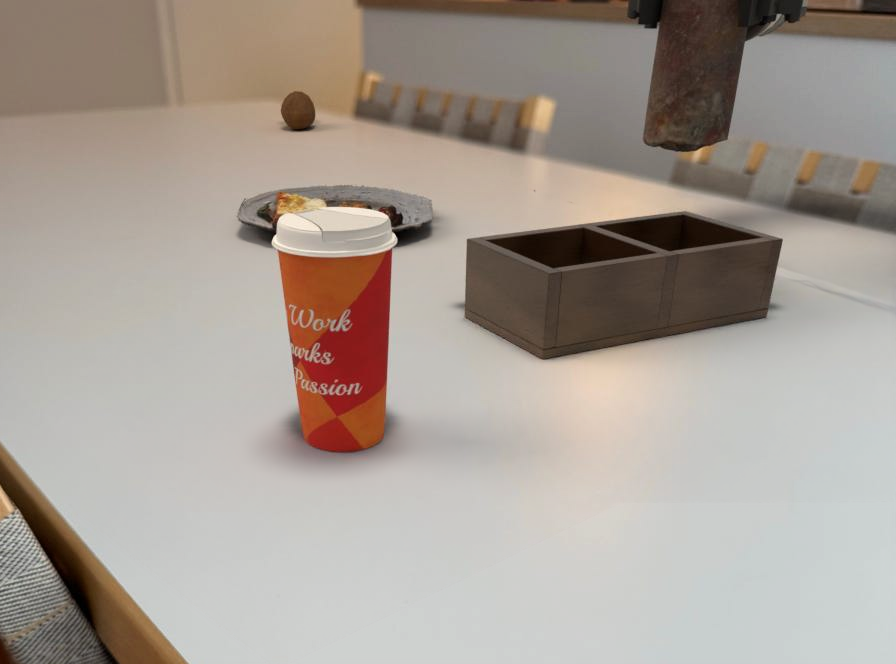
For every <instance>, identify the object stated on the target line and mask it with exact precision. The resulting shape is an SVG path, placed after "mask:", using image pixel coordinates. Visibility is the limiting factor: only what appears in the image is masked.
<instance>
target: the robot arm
mask: <svg viewBox="0 0 896 664" xmlns="http://www.w3.org/2000/svg"><path fill="white" fill-rule="evenodd" d="M662 1H663V0H628V3H627V12H626V18H628V19H630V20H638V21H637V25H642V26H643V28H644V29H648V30H649V29H653V30H654V29H658V23H660V16H661V8H662ZM808 3H809V0H742V2H741V8H740V14H739V20H738V26H737V27H748V28H747V34H746V39H745V43H746V42H748V41H750V40H753V39H755V38H756V37H764V36H767V35H770V34H771V33H773V32H774V31H777V30H778V28H780V27H782V26H783V25H784V24H785V23H786V22H787V24H795V23H797V22H800V19H802V18H803V17H806V13H807V9H808Z"/></svg>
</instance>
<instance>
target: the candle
mask: <svg viewBox="0 0 896 664" xmlns="http://www.w3.org/2000/svg"><path fill="white" fill-rule="evenodd" d="M741 2H742V0H663V1H662V8H661V16H660V22H658V23H659V24H658V32H657V38H656V44H655V51H654V57H653V65H652V69H651V70H652V71H651V78H650V82H649V83H650V86H649V91H648V97H647V105H646V112H645V119H644V127H643V134H642V142H643V143H644V145H646V146H648V147H652V148H658V147H660V148H661V149H663V150H668V151H672V152H676V153H679V152H680V153H689V152H690V153H691V152H697V151H699V150H700V149H702V148H705V147H710V146H713V145H716V144H719V143H721V142H724V141H727V140H728V138H729V135H730V130H731V129H730V128H731V124H732V118H733V115H734V107H735V103H736V97H737V92H738V85H739V80H740V79H739V78H740V74H741V68H742V62H743V55H744V50H745V44H746V42H745V39H746V34H747V28H748V27H737V26H738V20H739V14H740V8H741Z"/></svg>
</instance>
